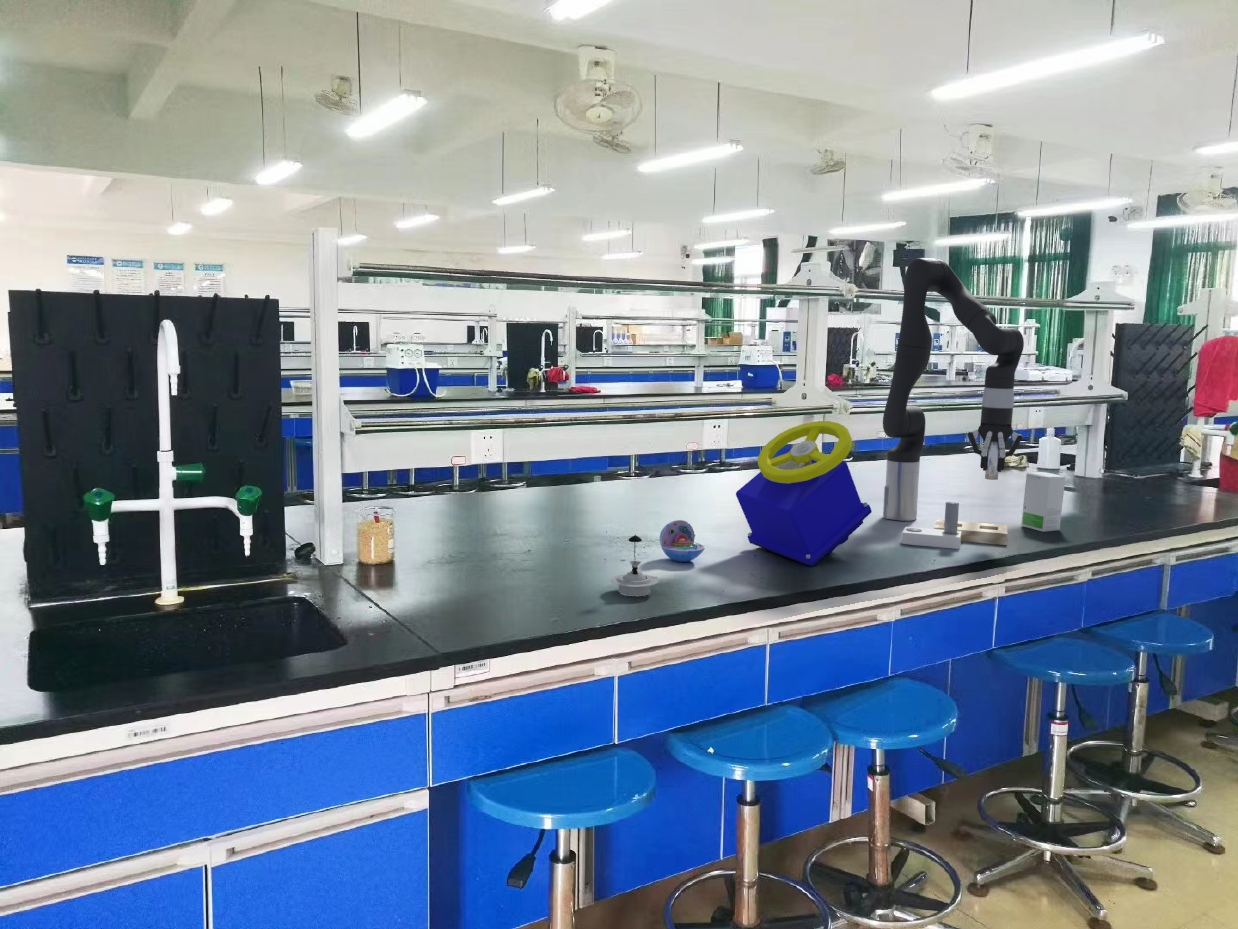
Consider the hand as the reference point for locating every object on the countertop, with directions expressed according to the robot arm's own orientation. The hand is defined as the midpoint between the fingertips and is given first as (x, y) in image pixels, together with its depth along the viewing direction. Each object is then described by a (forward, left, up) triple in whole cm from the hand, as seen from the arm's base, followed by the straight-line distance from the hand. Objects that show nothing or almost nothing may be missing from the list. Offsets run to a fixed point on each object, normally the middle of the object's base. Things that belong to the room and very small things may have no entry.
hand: (992, 470), depth 237 cm
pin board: (-4, +1, -19) cm, 19 cm away
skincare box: (+14, +22, -19) cm, 32 cm away
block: (-13, -11, -19) cm, 25 cm away
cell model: (-66, -56, -19) cm, 89 cm away
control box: (-40, -40, -19) cm, 60 cm away
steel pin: (0, 0, -2) cm, 2 cm away
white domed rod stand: (-66, -86, -19) cm, 110 cm away
